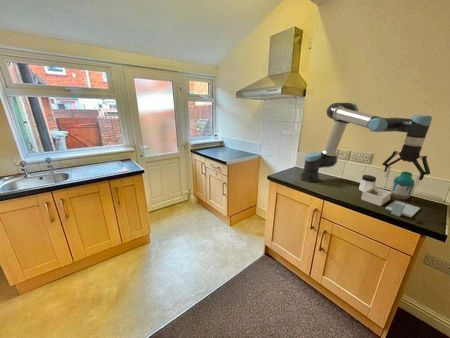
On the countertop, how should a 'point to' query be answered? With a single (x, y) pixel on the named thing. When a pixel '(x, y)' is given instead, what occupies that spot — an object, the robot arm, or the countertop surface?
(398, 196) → the green capped bottle
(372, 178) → the jar
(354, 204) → the countertop surface
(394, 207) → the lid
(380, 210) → the countertop surface
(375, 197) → the tub
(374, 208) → the countertop surface
